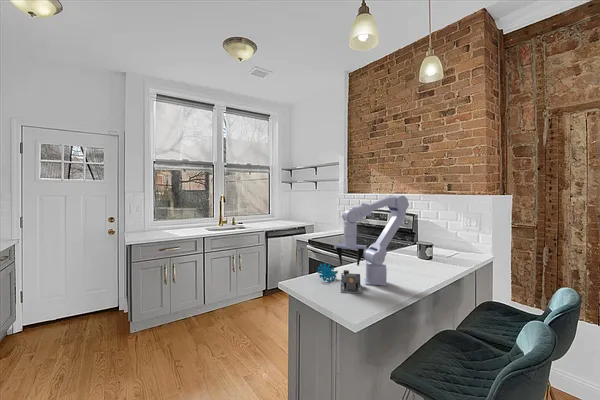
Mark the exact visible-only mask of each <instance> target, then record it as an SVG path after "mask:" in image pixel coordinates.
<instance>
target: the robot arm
mask: <svg viewBox="0 0 600 400" xmlns="http://www.w3.org/2000/svg"><path fill="white" fill-rule="evenodd" d="M384 207H387V208H388V210H389V211H390V213H391V217H390V219H389V220H388V222H387V224H386V225H385V227H384V228H383V230H382V232H381V233H380V234H379V237H378V238H377V240H376V241H375V242H374V243H372V244H371V245H369V247H368V248H367V245H366V244H365V245H364V244H357V233H358V232H357V231H358V229H357V224H358V221H359V220H361V219H363V218H365V217H368V216H370V215H372V212H373V211H376V210H379V209H382V208H384ZM409 207H410V204H409V199H408V198H407V196H405V195H392V194H391V195H389V196H385V197H383V198H380V199H378V200H376V201H374V202H372V203H370V204H368V203H365V202H362V203H360V205H357V206H353V207H352V208H351V209H346V210H344V212H343V213H342V215H341V217H342V220H343V243H334V244H333V249H334V250H336V254H337V256H338V258H339V262H340V263H339V264H340V266H342V265H343V250H357V259H356V266H358V267H359V266H360V262H361V259H362V256H363V258H364V260H365V277H364V284H365V285H369V286H370V285H371V286H387V271H388V269H387V264H384V262H385V261H386V260H385V259H386V256H387V254H388V253H387V248H388V246H389V244H390V242H392V239H393V237H394V236H395V235H396V233H397V231H398V230H399V229H400V226H401V225H402V223H403V221H404V220H405V219H406V214H407V210H408V208H409Z"/></svg>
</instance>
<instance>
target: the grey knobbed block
mask: <svg viewBox="0 0 600 400" xmlns="http://www.w3.org/2000/svg"><path fill="white" fill-rule="evenodd" d="M356 274H357V273H350V274H346V290H356Z"/></svg>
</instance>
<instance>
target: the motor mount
mask: <svg viewBox="0 0 600 400" xmlns="http://www.w3.org/2000/svg"><path fill="white" fill-rule="evenodd" d="M346 274H351V273H350V270H349V269H345V270H343V272H342V273H340V275H341V279H340V280H341V282H340V293H341V294H342V293H344V294H346V293H347V294H358V295H359V294H360V295H362V294H363V291H362V286H361V273H355V274H356V290H346Z"/></svg>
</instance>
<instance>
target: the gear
mask: <svg viewBox="0 0 600 400" xmlns="http://www.w3.org/2000/svg"><path fill="white" fill-rule="evenodd" d="M331 266H332V265H331V264H330V263H328V265H327V263H326V262H324V263H320V264H319V266H318V267H317V272H316V273H317V274H319V275H318V276H319V278H322V280H323V281H324V282H325V281H326V280H327V282H328V283H330V282H331V281H332V282H334V281H335V279H336V278H337V274H338V273H339V270H336V271H335V267H334V266H332V267H331Z"/></svg>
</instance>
